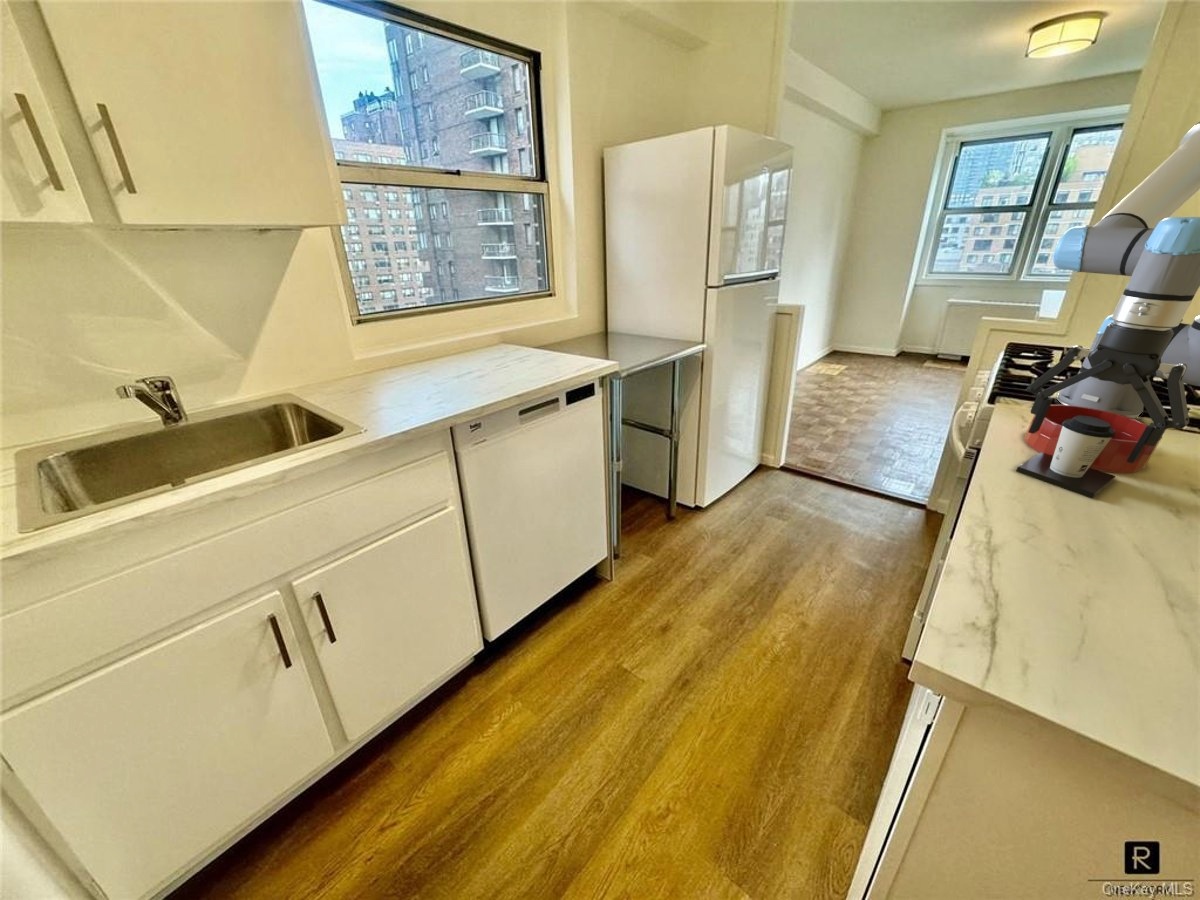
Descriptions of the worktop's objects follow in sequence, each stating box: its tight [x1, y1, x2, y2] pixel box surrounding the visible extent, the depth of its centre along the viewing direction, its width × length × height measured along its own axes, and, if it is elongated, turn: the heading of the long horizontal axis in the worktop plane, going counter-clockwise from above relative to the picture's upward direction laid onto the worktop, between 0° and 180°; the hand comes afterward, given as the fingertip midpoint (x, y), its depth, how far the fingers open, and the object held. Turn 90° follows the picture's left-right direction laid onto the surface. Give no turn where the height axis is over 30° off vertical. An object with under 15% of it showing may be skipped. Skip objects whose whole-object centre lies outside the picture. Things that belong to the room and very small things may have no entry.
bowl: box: [1023, 404, 1163, 474], centre depth 96 cm, size 18×18×6 cm
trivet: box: [1015, 452, 1116, 499], centre depth 88 cm, size 11×11×1 cm
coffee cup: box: [1050, 415, 1115, 478], centre depth 86 cm, size 7×7×10 cm
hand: (1079, 445), depth 86 cm, fingers open, 13 cm apart
